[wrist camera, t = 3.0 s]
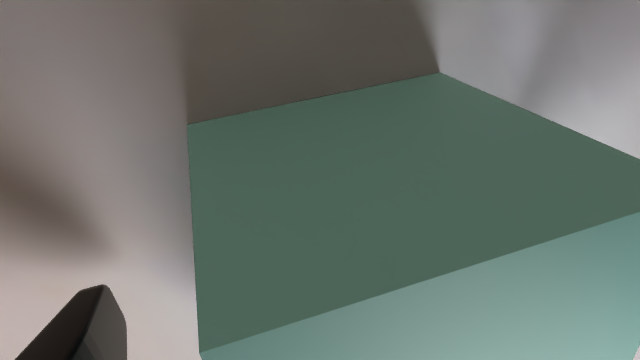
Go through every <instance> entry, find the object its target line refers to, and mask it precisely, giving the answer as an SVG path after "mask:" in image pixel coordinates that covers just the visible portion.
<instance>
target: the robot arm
mask: <svg viewBox="0 0 640 360" xmlns="http://www.w3.org/2000/svg"><path fill="white" fill-rule="evenodd" d="M15 360H127V328H126V322H125V318H124V316H123V313H122V311H121V310H120V308H119V306H118V304H117V302H116V300H115V298H114V296H113V294H112V292H111V290H110V288H109V287H108V286H106V285H103V284H102V285H98V286H94V287H90V288H87V289H83V290H81V291H79V292H78V293H77V294H76V295H75V296H74V297H73V298H72V299H71V300H70V301H69V302H68V303H67V304H66V305H65V306H64V308H63V309H62V310H61V311H60V312H59V313H58V314H57V315H56V316H55V317H54V318H53V319H52V320H51V321H50V323H49V324H48V325H47V326H46V327H45V328H44V329H43V330H42V331H41V332H40V333H39V334H38V335H37V336H36V337H35V339H34V340H33V341H32V342H31V343H30V344H29V345H28V346H27V347H26V348H25V349H24V350H23V351H22V352H21V354H20V355H19V356H18V357H17V358H16V359H15Z"/></svg>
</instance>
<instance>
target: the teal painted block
mask: <svg viewBox="0 0 640 360" xmlns="http://www.w3.org/2000/svg"><path fill="white" fill-rule="evenodd" d="M187 133H188V151H189V170H190V189H191V207H192V226H193V244H194V263H195V281H196V300H197V319H198V337H199V353H200V356H201V358H202V360H633V358H634V356H635V354H636V352H637V349H638V347H639V345H640V159H638V158H635V157H633V156H631V155H628V154H626V153H624V152H622V151H619V150H617V149H615V148H612V147H610V146H608V145H606V144H603V143H601V142H599V141H596V140H594V139H592V138H589V137H587V136H585V135H583V134H580V133H578V132H576V131H573V130H571V129H569V128H566V127H564V126H562V125H560V124H557V123H555V122H553V121H550V120H548V119H546V118H543V117H541V116H539V115H537V114H534V113H532V112H530V111H527V110H525V109H523V108H520V107H518V106H516V105H514V104H511V103H509V102H507V101H504V100H502V99H500V98H498V97H495V96H493V95H491V94H488V93H486V92H484V91H481V90H479V89H477V88H475V87H472V86H470V85H468V84H465V83H463V82H461V81H458V80H456V79H454V78H452V77H449V76H447V75H445V74H442V73H435V74H430V75H425V76H421V77H416V78H411V79H406V80H401V81H396V82H391V83H387V84H382V85H377V86H372V87H367V88H362V89H358V90H353V91H348V92H343V93H338V94H333V95H328V96H324V97H319V98H314V99H309V100H304V101H299V102H294V103H290V104H285V105H280V106H275V107H270V108H265V109H260V110H256V111H251V112H246V113H241V114H236V115H231V116H226V117H222V118H217V119H212V120H207V121H202V122H197V123H192V124H188V125H187Z"/></svg>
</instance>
